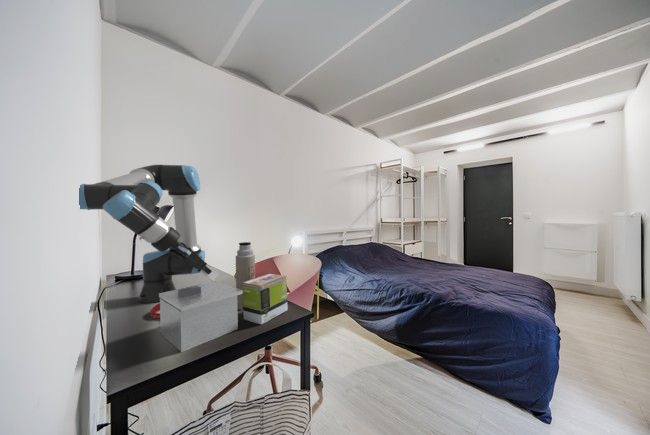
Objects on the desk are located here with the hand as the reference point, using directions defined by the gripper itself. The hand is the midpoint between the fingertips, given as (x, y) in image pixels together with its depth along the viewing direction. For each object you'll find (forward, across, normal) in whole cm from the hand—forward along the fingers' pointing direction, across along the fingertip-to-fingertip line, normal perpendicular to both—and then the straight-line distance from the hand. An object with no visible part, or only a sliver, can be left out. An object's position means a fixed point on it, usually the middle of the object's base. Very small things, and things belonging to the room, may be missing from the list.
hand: (215, 277), depth 87 cm
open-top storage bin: (+9, 0, -16) cm, 18 cm away
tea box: (+25, +7, -1) cm, 26 cm away
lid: (0, 0, -7) cm, 7 cm away
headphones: (+11, -27, -14) cm, 33 cm away
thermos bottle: (+25, -8, 0) cm, 26 cm away
